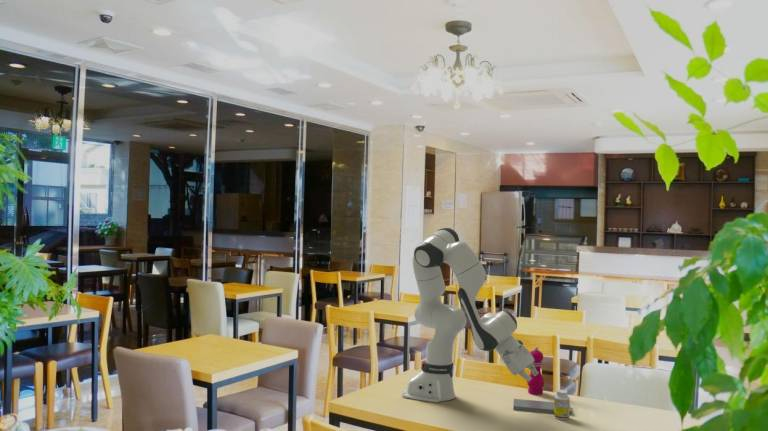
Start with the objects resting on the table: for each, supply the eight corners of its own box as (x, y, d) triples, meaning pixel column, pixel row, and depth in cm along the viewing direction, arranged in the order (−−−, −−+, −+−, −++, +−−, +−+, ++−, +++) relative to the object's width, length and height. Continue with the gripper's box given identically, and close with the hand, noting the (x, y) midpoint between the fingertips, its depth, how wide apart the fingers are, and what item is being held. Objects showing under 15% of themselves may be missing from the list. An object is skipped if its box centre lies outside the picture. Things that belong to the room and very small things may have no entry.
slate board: (513, 409, 235) (513, 406, 235) (513, 402, 245) (513, 398, 245) (571, 415, 230) (571, 411, 230) (569, 407, 240) (569, 403, 240)
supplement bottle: (557, 414, 231) (558, 388, 231) (571, 417, 227) (572, 391, 227) (551, 418, 226) (552, 391, 226) (565, 421, 223) (566, 394, 223)
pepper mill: (544, 396, 255) (545, 349, 255) (527, 394, 256) (528, 348, 256) (543, 391, 262) (544, 345, 262) (526, 390, 263) (527, 344, 263)
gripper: (506, 349, 226) (531, 378, 221) (522, 339, 244) (546, 367, 239) (495, 359, 229) (519, 389, 224) (511, 349, 246) (535, 376, 241)
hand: (533, 377), depth 232 cm, fingers open, 8 cm apart
